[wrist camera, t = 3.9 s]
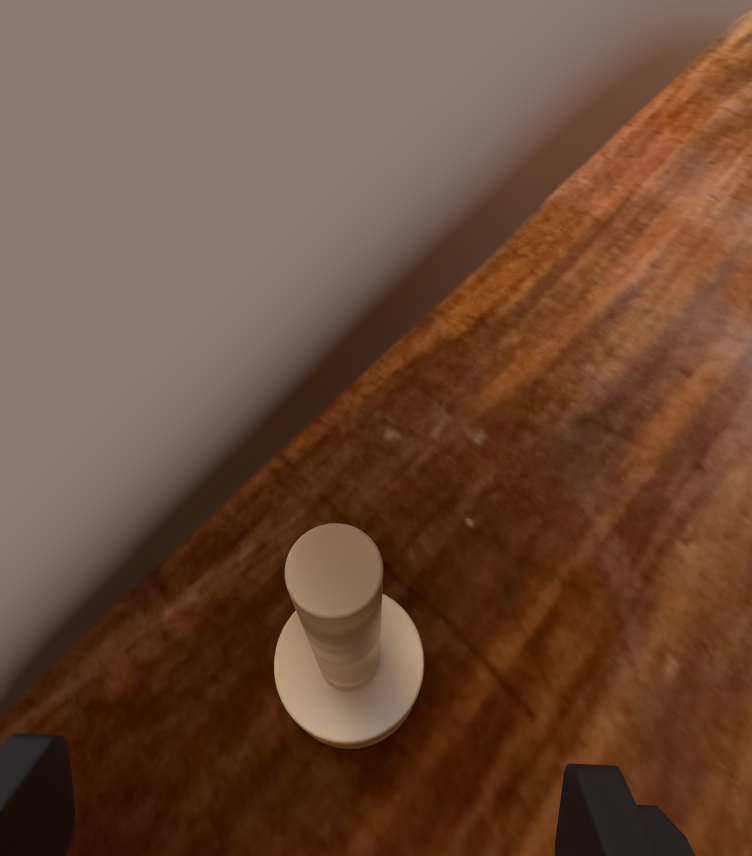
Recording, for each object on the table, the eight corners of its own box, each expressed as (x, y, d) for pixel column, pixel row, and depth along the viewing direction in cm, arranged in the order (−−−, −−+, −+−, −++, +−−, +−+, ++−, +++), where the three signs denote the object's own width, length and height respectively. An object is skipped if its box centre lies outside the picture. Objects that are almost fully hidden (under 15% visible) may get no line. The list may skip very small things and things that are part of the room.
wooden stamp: (308, 773, 21) (247, 748, 11) (266, 633, 24) (183, 504, 13) (442, 714, 22) (501, 640, 12) (388, 585, 25) (400, 430, 14)
